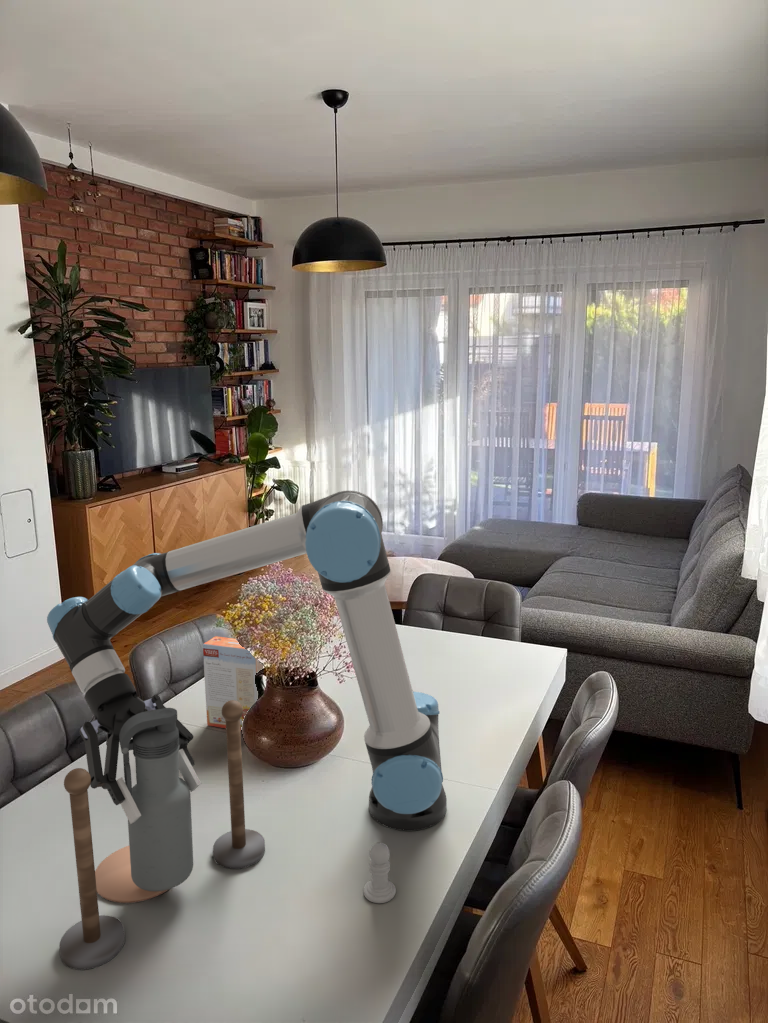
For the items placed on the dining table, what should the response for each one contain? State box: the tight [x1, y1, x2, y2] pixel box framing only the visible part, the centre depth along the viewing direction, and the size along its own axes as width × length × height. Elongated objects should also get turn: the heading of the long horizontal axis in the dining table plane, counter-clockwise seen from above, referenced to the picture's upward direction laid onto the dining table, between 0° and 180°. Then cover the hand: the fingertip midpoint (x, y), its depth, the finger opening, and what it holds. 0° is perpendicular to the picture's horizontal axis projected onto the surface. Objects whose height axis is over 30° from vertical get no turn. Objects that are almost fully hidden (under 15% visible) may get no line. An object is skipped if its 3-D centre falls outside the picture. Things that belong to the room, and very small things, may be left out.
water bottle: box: [119, 707, 194, 891], centre depth 121 cm, size 10×10×28 cm
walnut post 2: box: [212, 700, 266, 870], centre depth 131 cm, size 9×9×29 cm
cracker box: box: [202, 635, 263, 732], centre depth 179 cm, size 14×6×21 cm, turn 71°
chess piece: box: [362, 842, 397, 904], centre depth 123 cm, size 5×5×9 cm
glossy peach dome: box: [95, 845, 170, 904], centre depth 129 cm, size 15×15×1 cm
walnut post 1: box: [59, 767, 126, 971], centre depth 110 cm, size 9×9×29 cm
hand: (167, 803), depth 119 cm, fingers closed on water bottle, 10 cm apart
